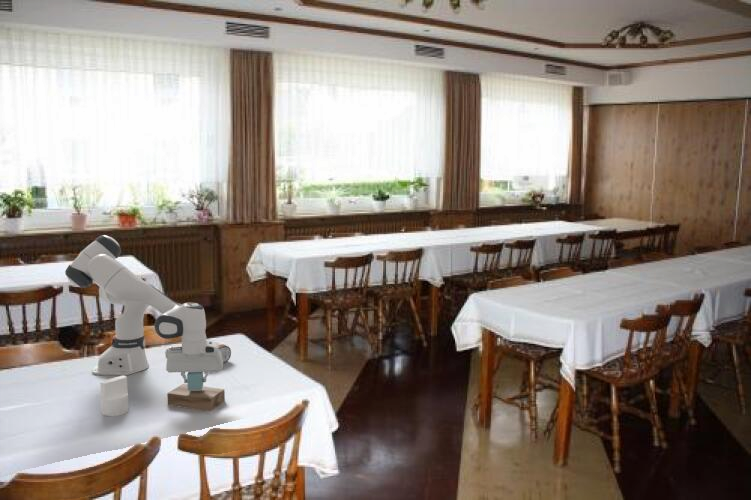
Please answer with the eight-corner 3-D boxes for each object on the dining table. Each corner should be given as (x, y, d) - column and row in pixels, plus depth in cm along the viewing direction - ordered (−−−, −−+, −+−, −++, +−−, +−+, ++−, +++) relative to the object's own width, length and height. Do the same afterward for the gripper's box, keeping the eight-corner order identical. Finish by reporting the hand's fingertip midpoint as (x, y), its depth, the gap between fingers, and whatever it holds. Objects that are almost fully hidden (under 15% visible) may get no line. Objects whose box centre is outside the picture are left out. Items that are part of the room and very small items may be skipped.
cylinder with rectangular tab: (120, 404, 234) (119, 373, 232) (133, 410, 228) (131, 378, 226) (97, 411, 227) (95, 379, 225) (109, 418, 221) (107, 385, 220)
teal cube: (187, 390, 232) (187, 374, 231) (189, 385, 237) (189, 370, 236) (201, 389, 232) (201, 374, 232) (203, 385, 237) (202, 369, 236)
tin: (228, 360, 285) (227, 342, 284) (232, 361, 283) (232, 343, 282) (199, 368, 273) (199, 349, 272) (204, 370, 271) (203, 351, 270)
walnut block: (210, 412, 228) (210, 398, 228) (167, 406, 233) (167, 393, 233) (224, 401, 238) (224, 389, 237) (183, 396, 243) (182, 383, 242)
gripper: (163, 350, 228) (165, 386, 230) (221, 348, 231) (222, 384, 233) (166, 344, 234) (168, 380, 236) (223, 343, 237) (223, 378, 239)
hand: (195, 382), depth 234 cm, fingers closed on teal cube, 5 cm apart
